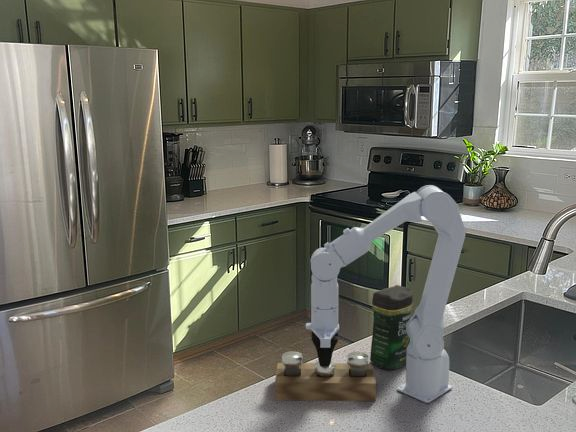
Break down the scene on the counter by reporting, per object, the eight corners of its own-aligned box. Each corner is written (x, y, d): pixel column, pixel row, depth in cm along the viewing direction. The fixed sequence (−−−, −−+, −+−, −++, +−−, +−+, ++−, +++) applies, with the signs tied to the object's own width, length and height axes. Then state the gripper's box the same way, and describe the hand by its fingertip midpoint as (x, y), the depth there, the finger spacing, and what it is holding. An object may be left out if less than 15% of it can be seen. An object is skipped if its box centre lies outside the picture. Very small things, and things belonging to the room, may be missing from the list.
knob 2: (366, 375, 123) (366, 351, 122) (368, 385, 119) (368, 360, 118) (346, 375, 123) (346, 351, 122) (347, 385, 119) (347, 360, 118)
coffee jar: (391, 374, 128) (393, 297, 125) (364, 363, 134) (365, 289, 130) (416, 361, 134) (419, 287, 131) (390, 351, 140) (392, 280, 137)
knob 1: (302, 375, 124) (302, 351, 123) (302, 384, 119) (302, 360, 118) (283, 374, 124) (282, 351, 123) (281, 384, 120) (281, 360, 118)
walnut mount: (371, 380, 126) (371, 363, 125) (375, 401, 117) (376, 383, 116) (278, 379, 127) (277, 363, 126) (275, 400, 118) (274, 382, 117)
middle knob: (334, 383, 124) (334, 360, 123) (335, 393, 119) (335, 369, 118) (314, 383, 124) (314, 360, 123) (314, 393, 120) (314, 369, 119)
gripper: (306, 293, 125) (306, 350, 128) (305, 317, 111) (305, 381, 114) (337, 293, 125) (337, 350, 128) (340, 318, 111) (340, 381, 113)
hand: (324, 364), depth 121 cm, fingers closed, pressing on middle knob
